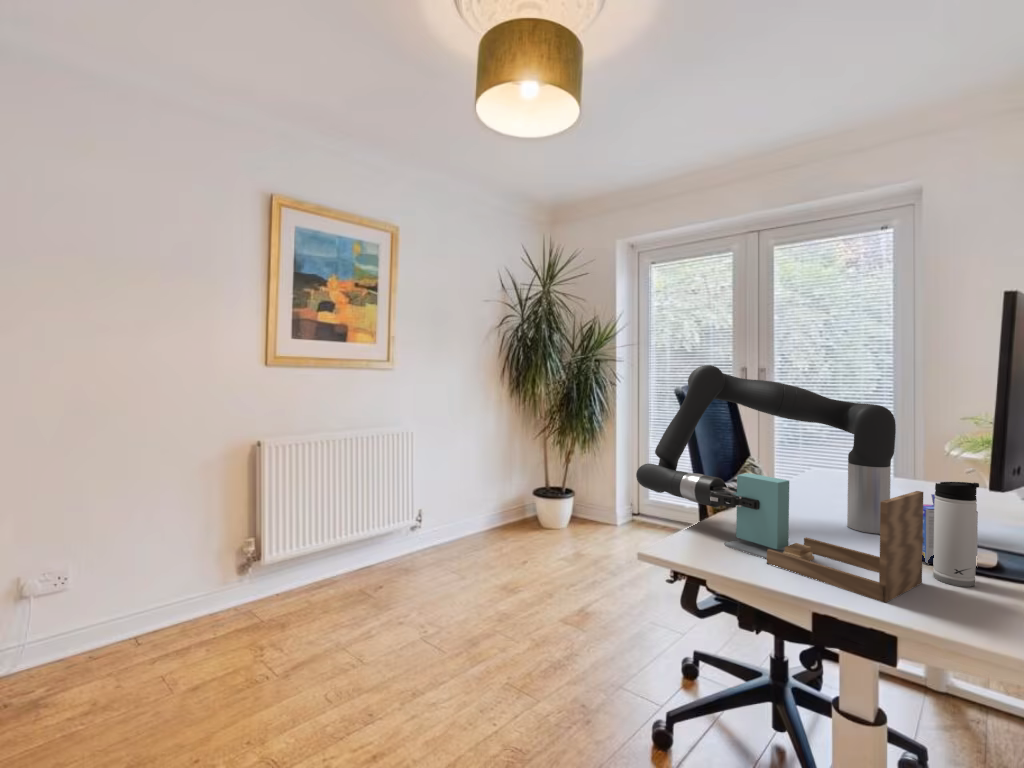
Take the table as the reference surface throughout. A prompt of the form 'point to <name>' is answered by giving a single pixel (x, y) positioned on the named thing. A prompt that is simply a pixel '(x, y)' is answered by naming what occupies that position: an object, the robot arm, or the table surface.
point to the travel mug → (955, 533)
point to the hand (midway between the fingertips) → (765, 503)
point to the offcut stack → (799, 551)
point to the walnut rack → (893, 565)
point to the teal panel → (764, 510)
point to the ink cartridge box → (929, 530)
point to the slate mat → (751, 547)
